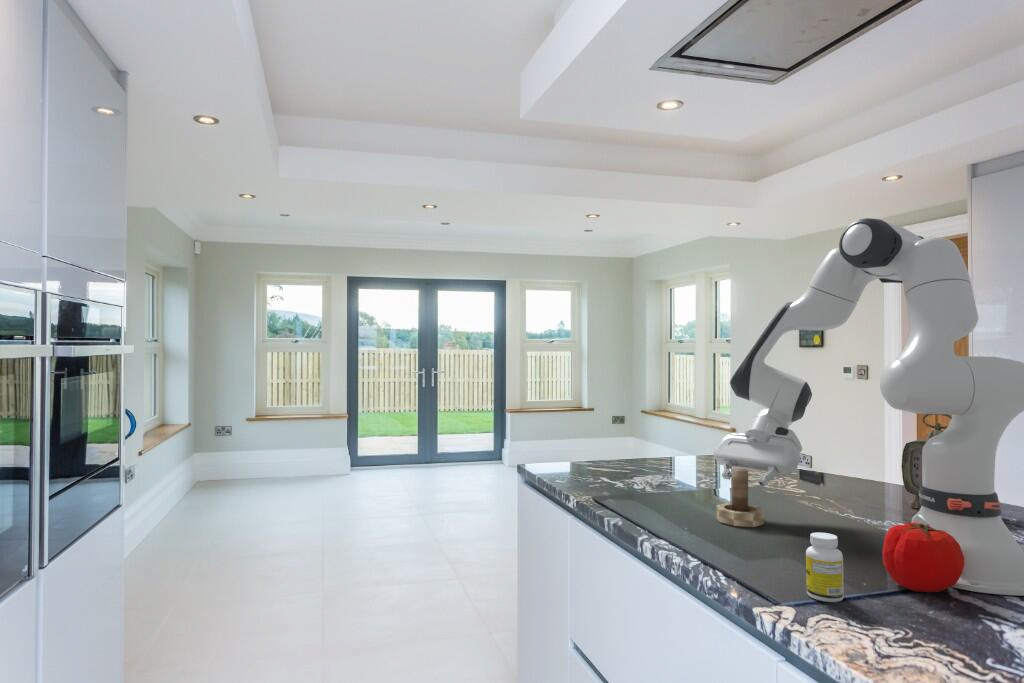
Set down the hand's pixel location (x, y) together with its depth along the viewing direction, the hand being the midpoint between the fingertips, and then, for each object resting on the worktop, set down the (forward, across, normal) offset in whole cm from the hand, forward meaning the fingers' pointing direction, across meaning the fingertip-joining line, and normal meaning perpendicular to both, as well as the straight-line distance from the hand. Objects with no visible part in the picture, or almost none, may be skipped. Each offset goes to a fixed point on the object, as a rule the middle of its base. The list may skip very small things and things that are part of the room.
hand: (743, 480), depth 150 cm
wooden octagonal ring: (+7, 0, +6) cm, 9 cm away
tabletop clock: (-29, +25, +42) cm, 57 cm away
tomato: (+19, +43, -5) cm, 47 cm away
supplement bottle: (+31, +34, -16) cm, 49 cm away
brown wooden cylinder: (+7, 0, +6) cm, 9 cm away
